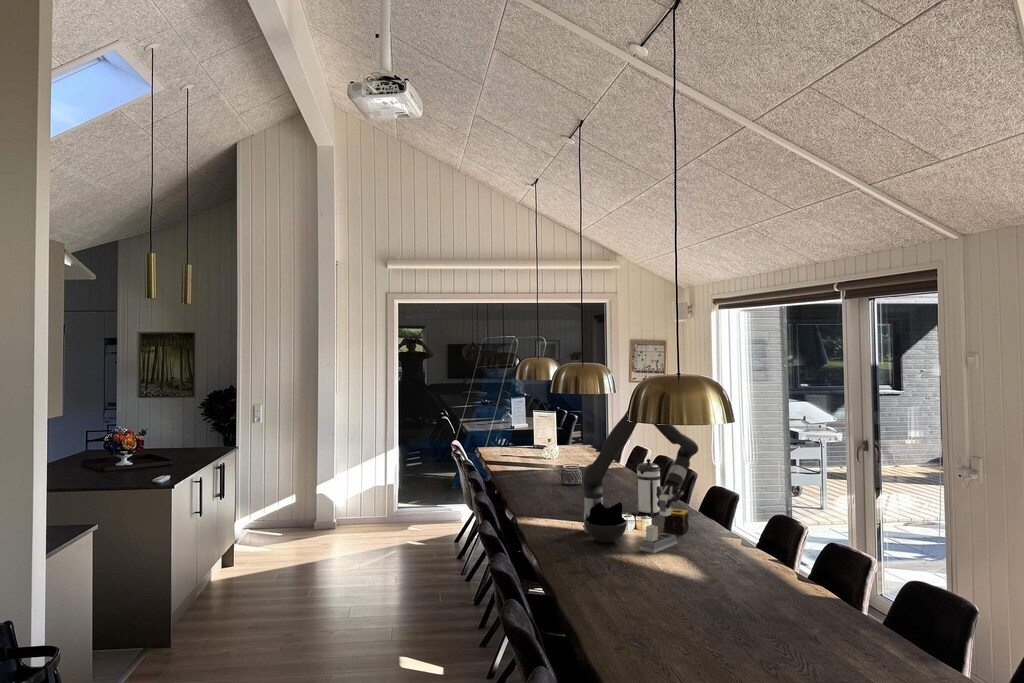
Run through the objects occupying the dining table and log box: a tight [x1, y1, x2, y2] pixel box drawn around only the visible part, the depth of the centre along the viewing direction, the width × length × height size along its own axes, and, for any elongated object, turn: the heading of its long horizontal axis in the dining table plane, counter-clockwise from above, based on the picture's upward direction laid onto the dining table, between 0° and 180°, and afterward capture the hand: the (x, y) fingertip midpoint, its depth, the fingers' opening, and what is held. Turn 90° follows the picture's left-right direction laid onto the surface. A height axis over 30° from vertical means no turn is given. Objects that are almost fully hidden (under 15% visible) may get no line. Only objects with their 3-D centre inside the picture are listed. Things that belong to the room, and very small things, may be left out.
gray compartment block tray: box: [639, 524, 678, 554], centre depth 315 cm, size 20×7×10 cm, turn 136°
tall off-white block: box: [659, 494, 672, 517], centre depth 319 cm, size 4×4×9 cm
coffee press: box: [634, 458, 662, 517], centre depth 381 cm, size 17×16×30 cm
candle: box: [663, 508, 690, 535], centre depth 343 cm, size 10×10×10 cm
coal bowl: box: [583, 501, 628, 544], centre depth 324 cm, size 20×20×19 cm
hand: (662, 506), depth 318 cm, fingers closed on tall off-white block, 3 cm apart
